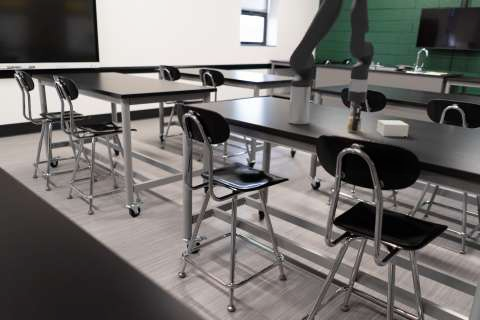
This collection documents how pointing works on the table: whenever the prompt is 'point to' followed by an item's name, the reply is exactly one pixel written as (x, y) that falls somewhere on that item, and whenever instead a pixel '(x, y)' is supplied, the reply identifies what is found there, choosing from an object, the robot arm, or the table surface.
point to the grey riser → (392, 128)
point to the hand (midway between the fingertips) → (353, 129)
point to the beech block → (352, 123)
